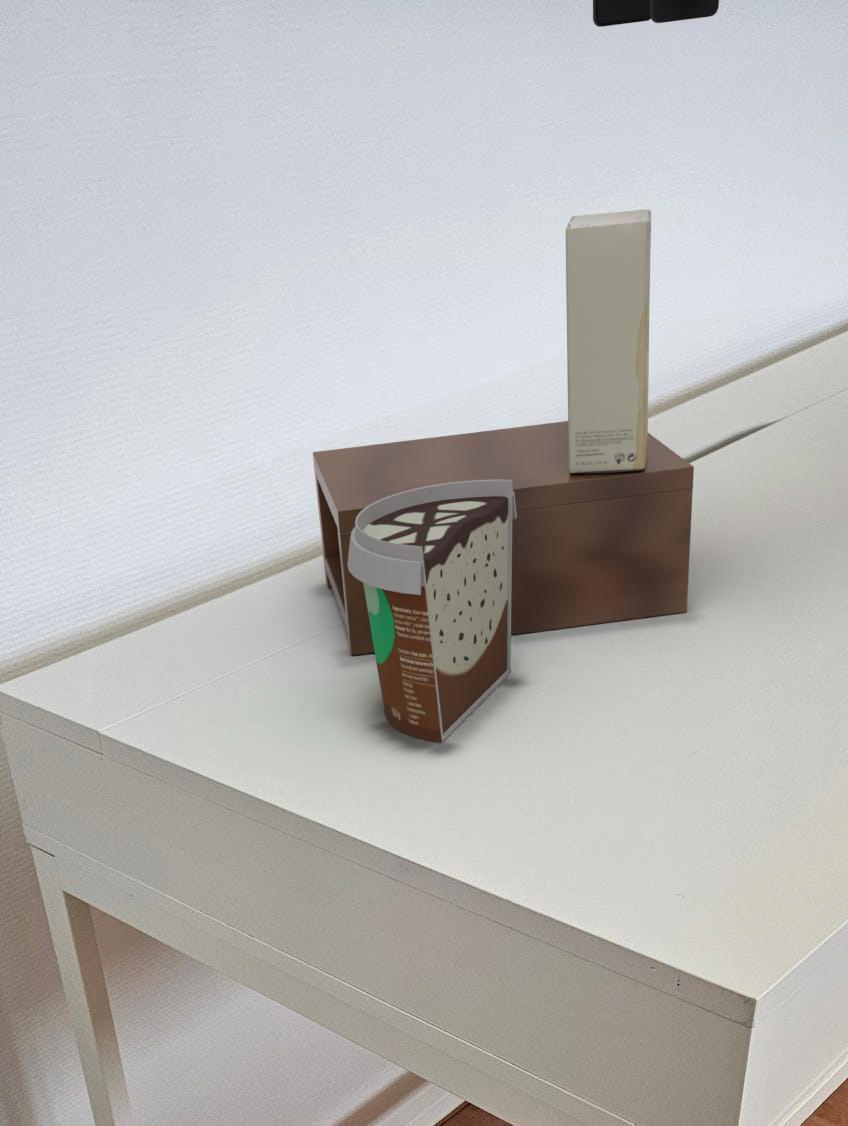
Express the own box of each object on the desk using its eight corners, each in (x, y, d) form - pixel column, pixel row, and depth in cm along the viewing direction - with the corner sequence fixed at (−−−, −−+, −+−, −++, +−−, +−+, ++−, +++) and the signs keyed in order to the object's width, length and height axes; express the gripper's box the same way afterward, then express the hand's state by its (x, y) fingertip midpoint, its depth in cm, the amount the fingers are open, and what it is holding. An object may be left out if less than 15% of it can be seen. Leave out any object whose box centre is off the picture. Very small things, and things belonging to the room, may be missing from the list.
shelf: (621, 544, 94) (623, 413, 89) (687, 612, 83) (694, 466, 78) (325, 582, 93) (312, 452, 88) (351, 656, 82) (337, 511, 77)
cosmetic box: (645, 473, 78) (652, 220, 71) (564, 476, 78) (563, 227, 71) (647, 444, 83) (654, 206, 76) (571, 448, 83) (571, 212, 76)
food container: (420, 654, 81) (408, 472, 75) (520, 663, 78) (516, 476, 73) (320, 740, 72) (298, 543, 66) (429, 754, 70) (416, 550, 64)
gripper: (823, -539, 54) (790, 7, 64) (676, -417, 68) (669, 16, 78) (634, -520, 54) (631, 28, 64) (526, -400, 68) (537, 33, 78)
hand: (652, 21), depth 71 cm, fingers open, 9 cm apart
